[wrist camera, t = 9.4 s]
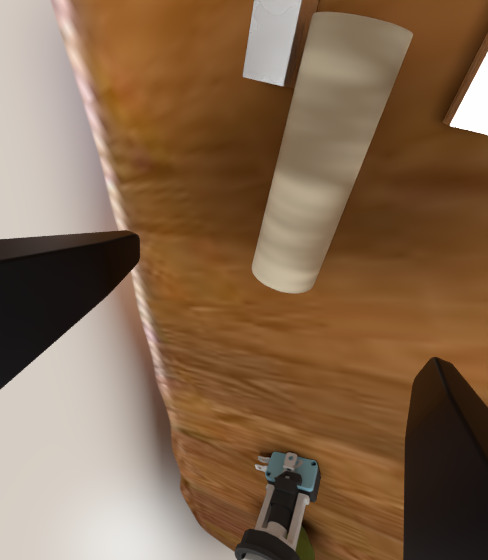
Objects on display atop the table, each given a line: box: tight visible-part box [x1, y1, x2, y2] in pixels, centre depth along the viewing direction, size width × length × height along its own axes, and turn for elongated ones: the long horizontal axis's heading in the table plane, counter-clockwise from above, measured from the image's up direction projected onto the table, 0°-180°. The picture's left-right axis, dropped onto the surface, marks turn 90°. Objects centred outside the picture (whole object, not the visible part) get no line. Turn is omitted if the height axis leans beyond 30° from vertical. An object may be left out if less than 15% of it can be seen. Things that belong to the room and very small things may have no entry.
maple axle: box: [252, 12, 413, 293], centre depth 15 cm, size 12×4×4 cm
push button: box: [235, 452, 321, 560], centre depth 27 cm, size 7×5×10 cm
